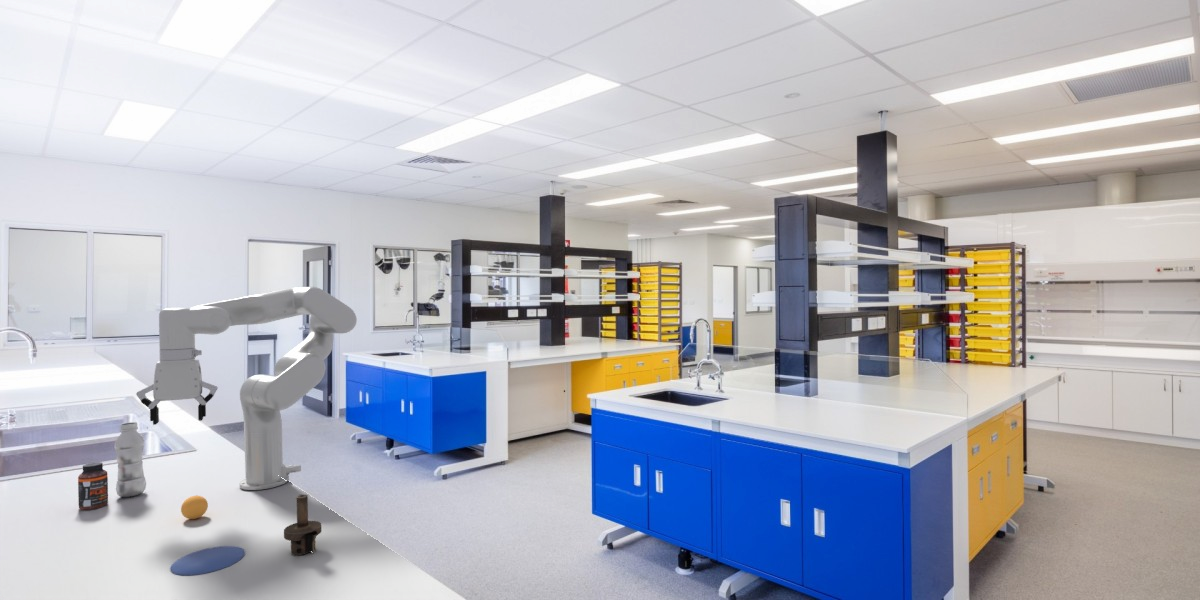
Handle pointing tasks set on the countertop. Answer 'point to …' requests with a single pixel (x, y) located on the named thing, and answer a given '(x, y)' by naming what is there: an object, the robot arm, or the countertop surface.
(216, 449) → the countertop surface
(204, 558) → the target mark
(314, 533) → the industrial component
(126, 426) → the plastic bottle
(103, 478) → the supplement bottle
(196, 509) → the ball
